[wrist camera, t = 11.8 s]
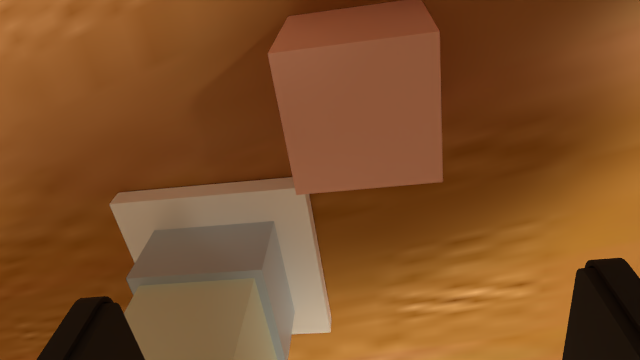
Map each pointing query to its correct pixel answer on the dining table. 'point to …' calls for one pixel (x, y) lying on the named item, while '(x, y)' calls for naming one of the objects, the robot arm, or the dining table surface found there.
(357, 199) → the dining table surface
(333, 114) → the brick terracotta
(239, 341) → the brick sage
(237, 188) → the plate
